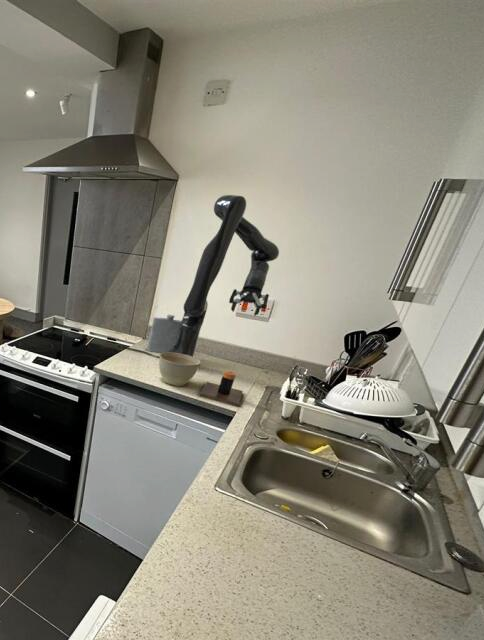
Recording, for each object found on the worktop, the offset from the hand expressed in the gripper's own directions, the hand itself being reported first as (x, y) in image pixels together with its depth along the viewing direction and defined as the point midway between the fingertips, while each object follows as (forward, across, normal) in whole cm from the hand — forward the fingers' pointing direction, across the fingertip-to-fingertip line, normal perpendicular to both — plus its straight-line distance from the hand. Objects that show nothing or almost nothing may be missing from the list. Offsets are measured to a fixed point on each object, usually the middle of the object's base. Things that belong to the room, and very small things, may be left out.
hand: (244, 312), depth 168 cm
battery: (+38, +3, +3) cm, 38 cm away
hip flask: (+10, -32, +33) cm, 47 cm away
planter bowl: (+38, -17, +4) cm, 42 cm away
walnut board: (+38, +2, +4) cm, 39 cm away
